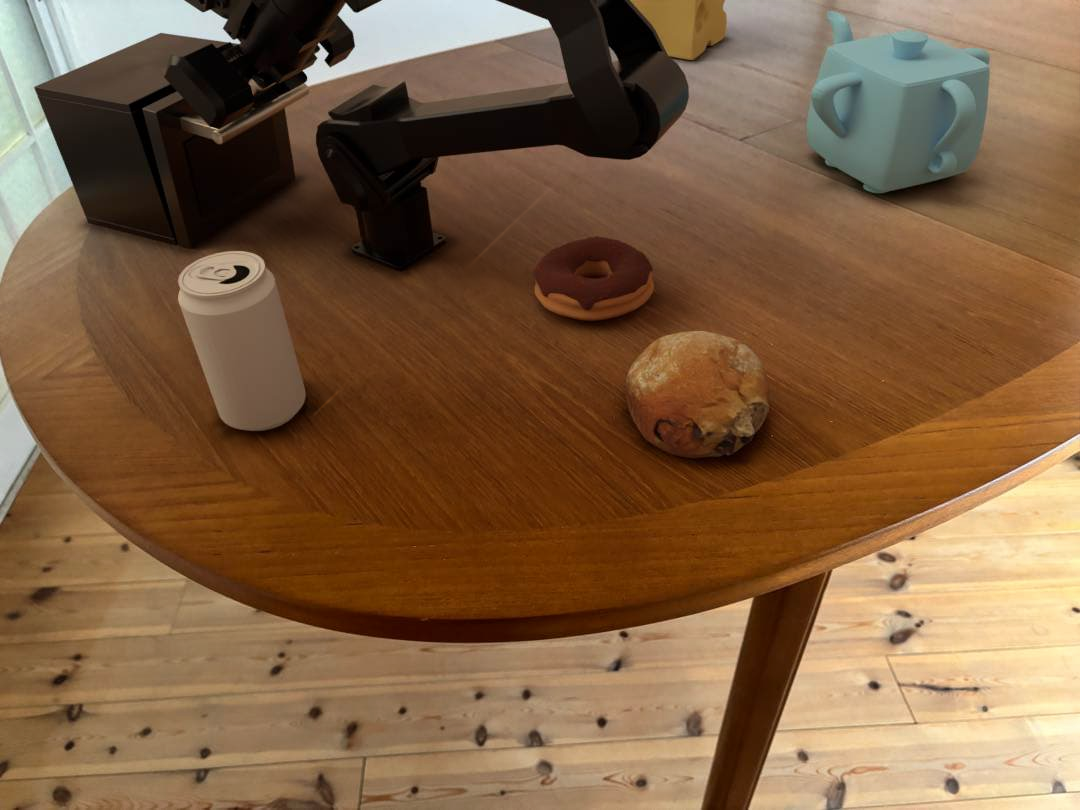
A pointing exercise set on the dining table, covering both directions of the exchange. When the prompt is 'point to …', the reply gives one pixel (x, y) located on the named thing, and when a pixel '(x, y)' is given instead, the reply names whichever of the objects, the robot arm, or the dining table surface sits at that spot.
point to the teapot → (898, 107)
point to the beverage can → (242, 339)
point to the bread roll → (698, 394)
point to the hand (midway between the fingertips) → (231, 112)
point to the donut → (584, 298)
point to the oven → (115, 134)
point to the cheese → (685, 24)
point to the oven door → (218, 162)
